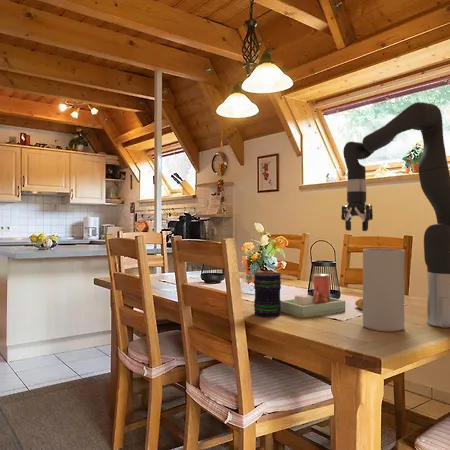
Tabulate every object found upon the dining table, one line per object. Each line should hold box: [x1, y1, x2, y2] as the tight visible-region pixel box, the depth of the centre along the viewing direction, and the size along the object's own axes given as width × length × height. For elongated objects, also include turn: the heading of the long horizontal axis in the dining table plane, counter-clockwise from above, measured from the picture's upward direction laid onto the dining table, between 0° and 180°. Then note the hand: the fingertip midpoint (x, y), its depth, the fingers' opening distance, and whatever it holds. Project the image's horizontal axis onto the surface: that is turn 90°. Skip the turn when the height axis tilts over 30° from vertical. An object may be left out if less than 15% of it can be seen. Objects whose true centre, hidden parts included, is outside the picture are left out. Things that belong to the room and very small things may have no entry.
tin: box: [313, 273, 331, 304], centre depth 165 cm, size 6×6×12 cm
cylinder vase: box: [362, 247, 405, 333], centre depth 139 cm, size 12×12×25 cm
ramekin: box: [294, 294, 313, 306], centre depth 161 cm, size 6×6×4 cm
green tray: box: [280, 296, 346, 319], centre depth 163 cm, size 21×13×4 cm, turn 121°
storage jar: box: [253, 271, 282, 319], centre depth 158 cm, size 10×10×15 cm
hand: (356, 230), depth 176 cm, fingers open, 8 cm apart
